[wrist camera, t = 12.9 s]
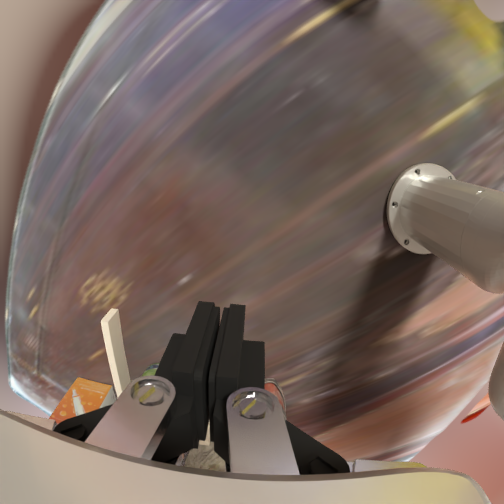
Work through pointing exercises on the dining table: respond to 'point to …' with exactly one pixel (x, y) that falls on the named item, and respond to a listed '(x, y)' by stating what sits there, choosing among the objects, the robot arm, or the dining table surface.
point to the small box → (83, 399)
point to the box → (121, 355)
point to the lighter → (276, 392)
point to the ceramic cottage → (205, 458)
